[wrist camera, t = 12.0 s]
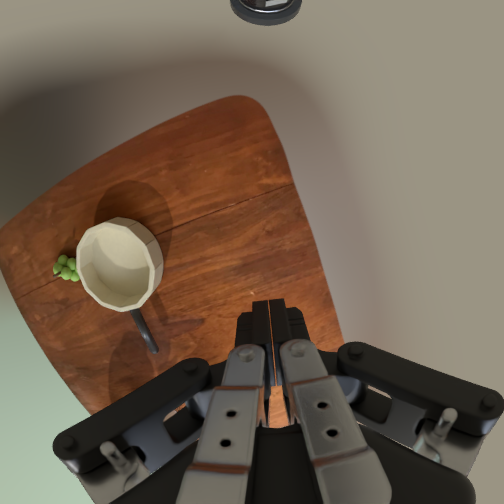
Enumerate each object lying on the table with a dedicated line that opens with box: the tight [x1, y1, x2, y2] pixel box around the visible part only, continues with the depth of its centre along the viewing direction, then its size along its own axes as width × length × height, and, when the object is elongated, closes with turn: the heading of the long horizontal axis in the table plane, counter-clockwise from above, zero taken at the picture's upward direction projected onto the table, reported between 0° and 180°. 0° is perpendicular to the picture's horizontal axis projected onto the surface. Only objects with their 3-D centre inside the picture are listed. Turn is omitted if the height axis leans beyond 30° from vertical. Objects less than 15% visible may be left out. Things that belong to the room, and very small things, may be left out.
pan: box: [76, 217, 164, 354], centre depth 41 cm, size 23×14×5 cm, turn 16°
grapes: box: [53, 255, 80, 281], centre depth 40 cm, size 7×5×6 cm, turn 67°
